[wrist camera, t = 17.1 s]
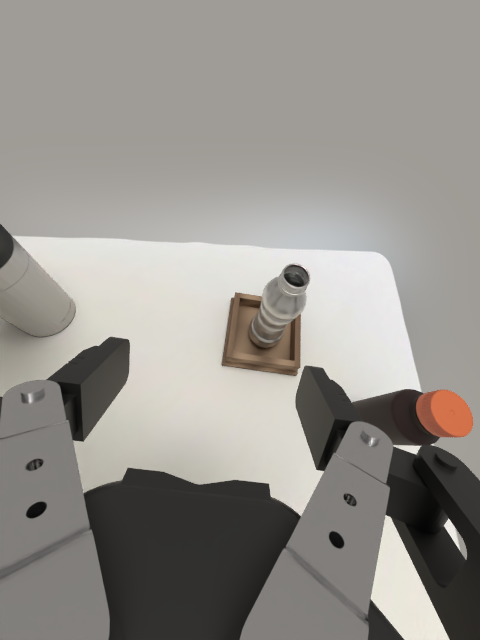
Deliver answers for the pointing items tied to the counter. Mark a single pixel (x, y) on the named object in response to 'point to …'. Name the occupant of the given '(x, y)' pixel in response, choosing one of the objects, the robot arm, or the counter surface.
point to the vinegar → (417, 416)
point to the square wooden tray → (246, 352)
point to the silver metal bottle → (279, 305)
